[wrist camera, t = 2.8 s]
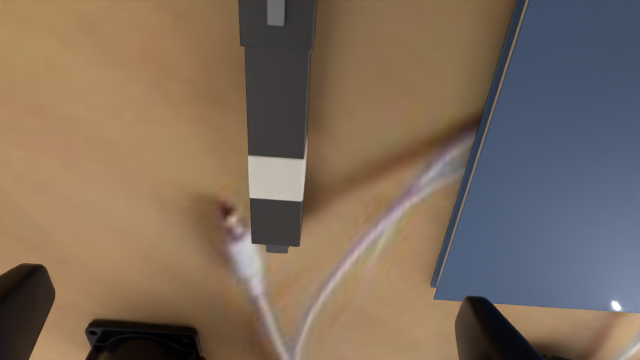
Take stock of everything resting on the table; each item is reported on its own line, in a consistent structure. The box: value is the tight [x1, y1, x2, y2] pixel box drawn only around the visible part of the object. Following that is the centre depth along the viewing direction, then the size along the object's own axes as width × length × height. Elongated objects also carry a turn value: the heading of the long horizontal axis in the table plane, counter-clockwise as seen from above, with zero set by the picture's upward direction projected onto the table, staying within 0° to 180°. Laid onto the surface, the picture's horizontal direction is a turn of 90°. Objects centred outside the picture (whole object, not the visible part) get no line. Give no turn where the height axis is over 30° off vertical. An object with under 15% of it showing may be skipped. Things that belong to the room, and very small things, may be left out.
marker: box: [238, 0, 317, 254], centre depth 16 cm, size 14×2×3 cm, turn 176°
